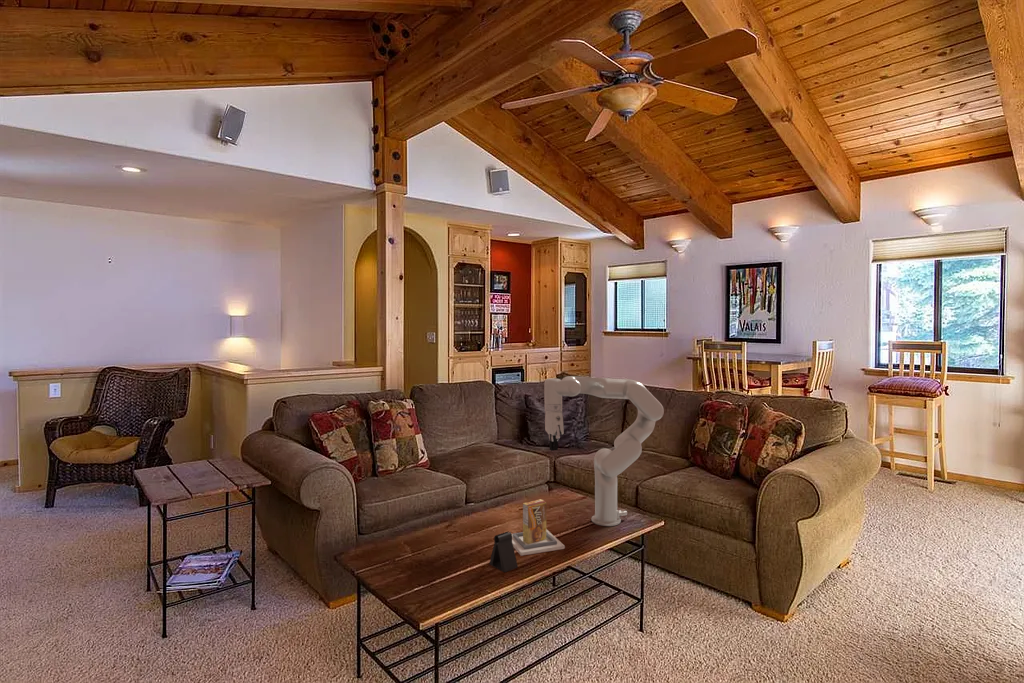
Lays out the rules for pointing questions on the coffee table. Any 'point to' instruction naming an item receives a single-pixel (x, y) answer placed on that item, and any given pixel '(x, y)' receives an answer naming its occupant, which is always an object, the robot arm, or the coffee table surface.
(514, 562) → the phone stand
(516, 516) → the coffee table surface
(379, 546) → the coffee table surface
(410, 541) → the coffee table surface
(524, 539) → the candy box
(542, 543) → the tile
